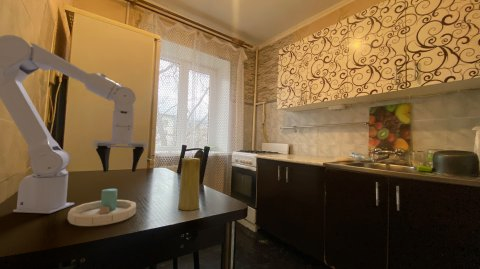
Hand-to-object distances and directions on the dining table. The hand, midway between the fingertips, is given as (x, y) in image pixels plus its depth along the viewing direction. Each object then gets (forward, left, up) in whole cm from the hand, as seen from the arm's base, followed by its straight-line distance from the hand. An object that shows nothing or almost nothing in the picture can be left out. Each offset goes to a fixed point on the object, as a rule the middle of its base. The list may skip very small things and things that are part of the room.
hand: (120, 171), depth 64 cm
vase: (+22, -2, -10) cm, 24 cm away
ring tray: (+3, -11, -9) cm, 15 cm away
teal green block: (+2, -8, -9) cm, 12 cm away
